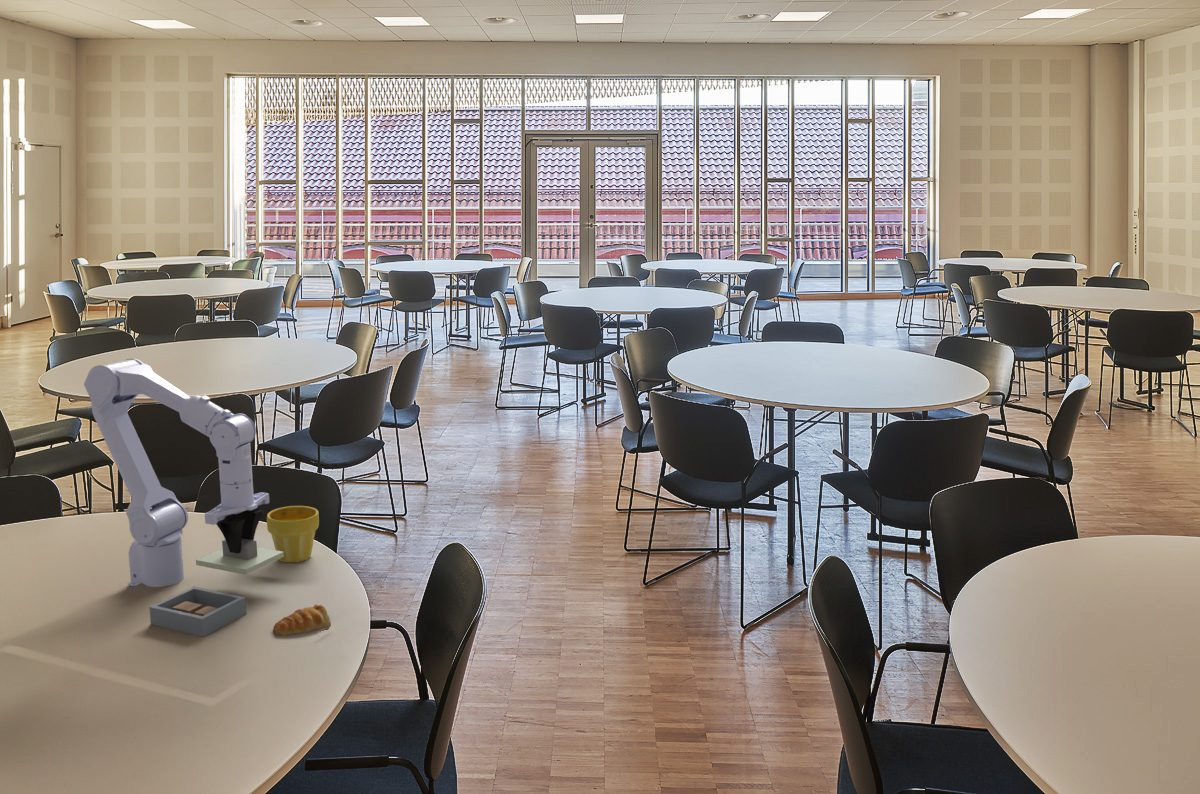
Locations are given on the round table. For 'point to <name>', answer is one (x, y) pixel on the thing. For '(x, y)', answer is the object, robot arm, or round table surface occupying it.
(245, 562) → the lid
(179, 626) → the box
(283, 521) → the plant pot
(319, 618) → the pastry
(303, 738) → the round table surface
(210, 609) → the brick
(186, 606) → the brick
